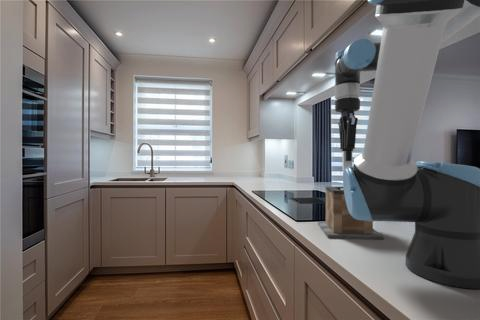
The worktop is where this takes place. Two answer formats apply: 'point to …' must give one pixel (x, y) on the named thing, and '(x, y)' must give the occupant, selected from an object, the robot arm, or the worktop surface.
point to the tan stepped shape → (344, 219)
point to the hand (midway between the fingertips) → (347, 171)
